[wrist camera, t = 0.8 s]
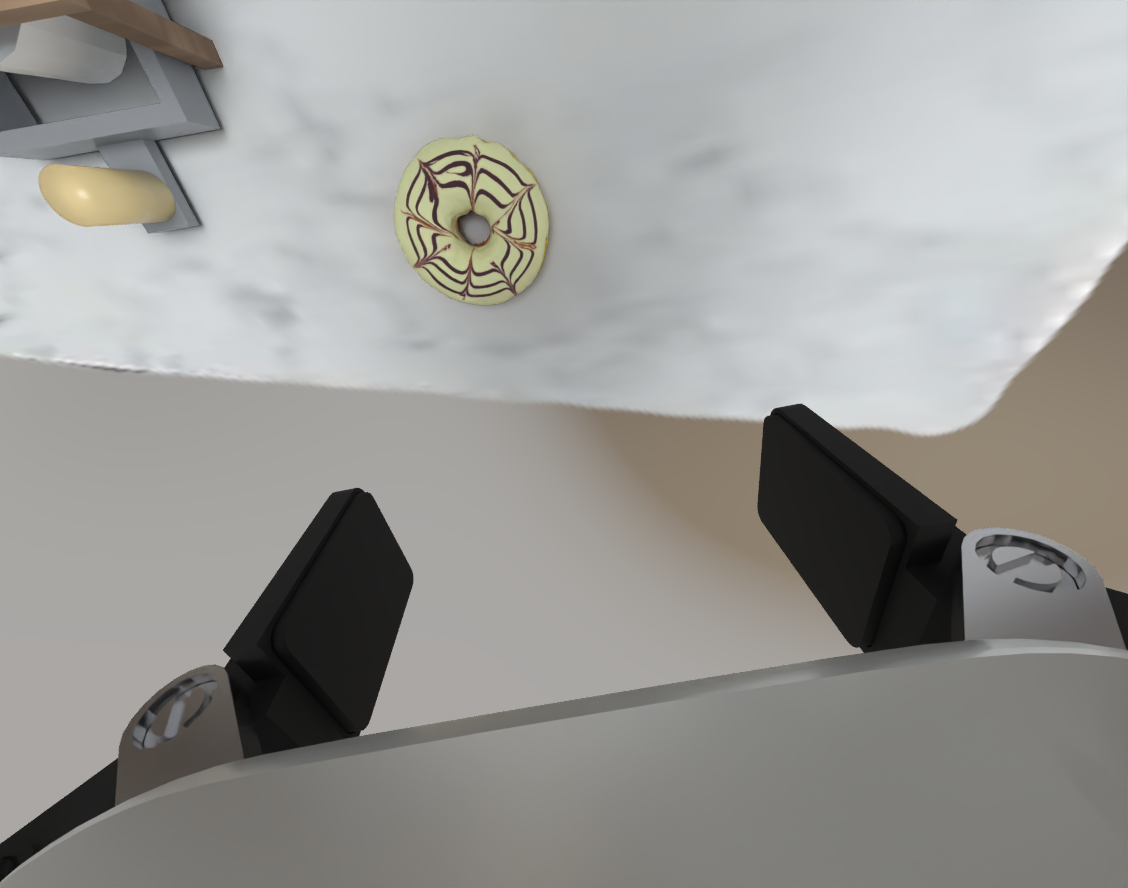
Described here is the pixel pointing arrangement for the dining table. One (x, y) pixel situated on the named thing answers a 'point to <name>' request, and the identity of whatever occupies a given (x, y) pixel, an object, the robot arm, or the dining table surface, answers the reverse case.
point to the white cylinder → (62, 50)
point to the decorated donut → (454, 188)
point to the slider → (115, 148)
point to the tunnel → (120, 25)
